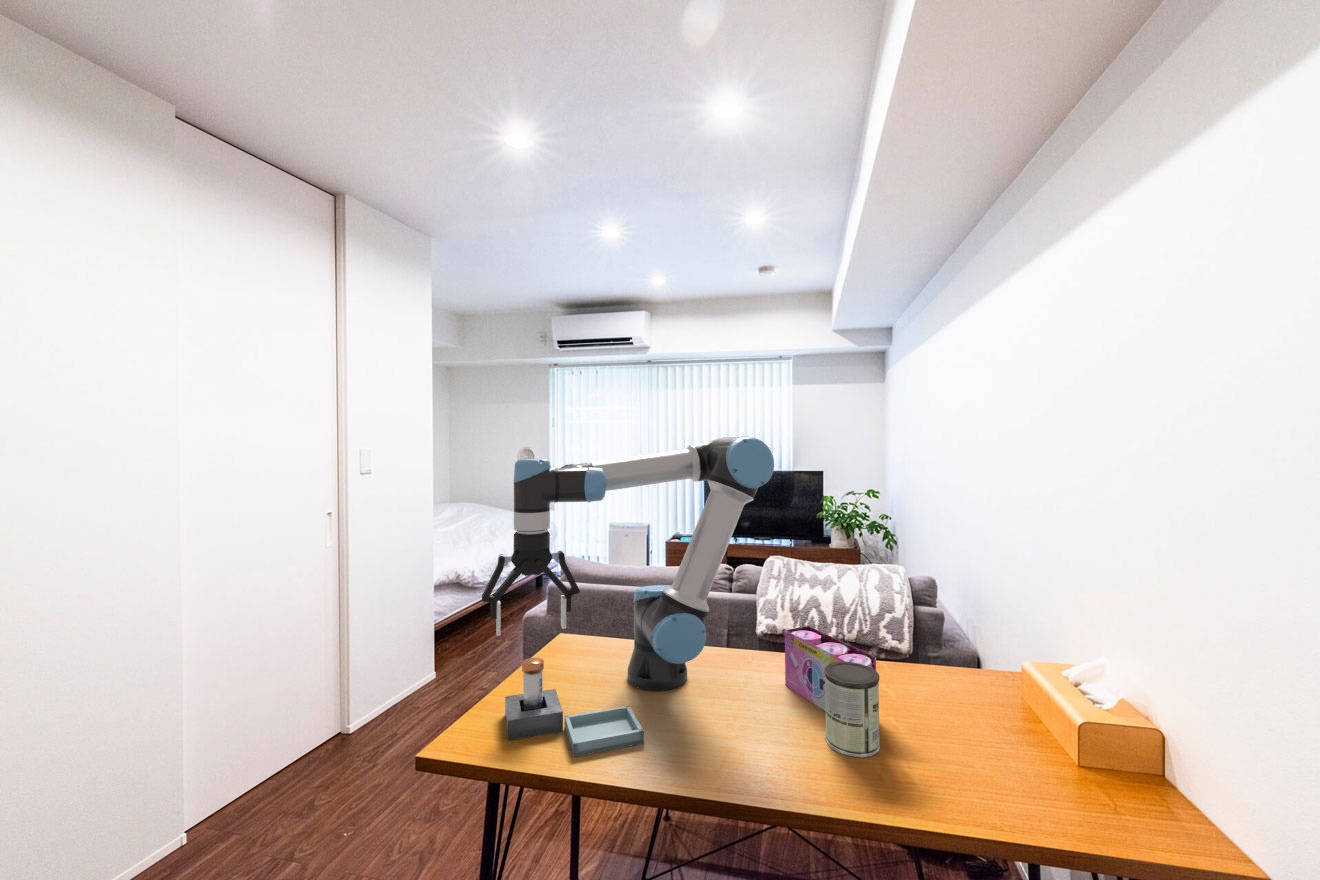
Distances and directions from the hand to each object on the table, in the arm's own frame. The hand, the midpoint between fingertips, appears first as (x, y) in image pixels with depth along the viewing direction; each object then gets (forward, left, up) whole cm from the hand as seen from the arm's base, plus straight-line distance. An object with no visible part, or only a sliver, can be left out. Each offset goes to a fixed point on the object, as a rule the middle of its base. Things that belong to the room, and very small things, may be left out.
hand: (531, 630), depth 116 cm
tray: (-13, +10, -20) cm, 26 cm away
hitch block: (0, 0, -20) cm, 20 cm away
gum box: (-65, +13, -20) cm, 69 cm away
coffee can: (-59, +29, -20) cm, 69 cm away
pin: (0, 0, -20) cm, 20 cm away
